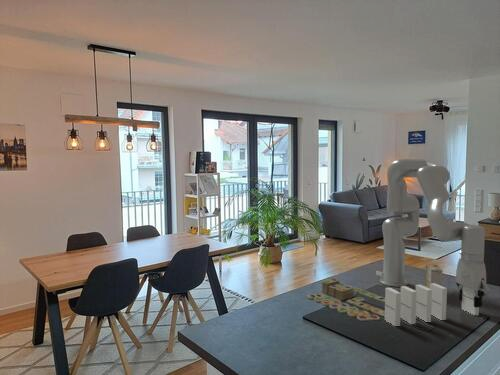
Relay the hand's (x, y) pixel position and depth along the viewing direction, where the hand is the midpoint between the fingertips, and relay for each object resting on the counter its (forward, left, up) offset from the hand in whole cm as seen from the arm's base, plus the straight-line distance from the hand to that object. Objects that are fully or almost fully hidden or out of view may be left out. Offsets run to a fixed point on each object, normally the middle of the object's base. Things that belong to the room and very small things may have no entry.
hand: (470, 303), depth 142 cm
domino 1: (-17, -31, -4) cm, 36 cm away
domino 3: (-11, -20, -4) cm, 23 cm away
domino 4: (-7, -14, -4) cm, 16 cm away
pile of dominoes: (-36, -22, -4) cm, 43 cm away
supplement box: (-16, +8, -4) cm, 18 cm away
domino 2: (-14, -25, -4) cm, 29 cm away
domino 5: (0, 0, -4) cm, 4 cm away
